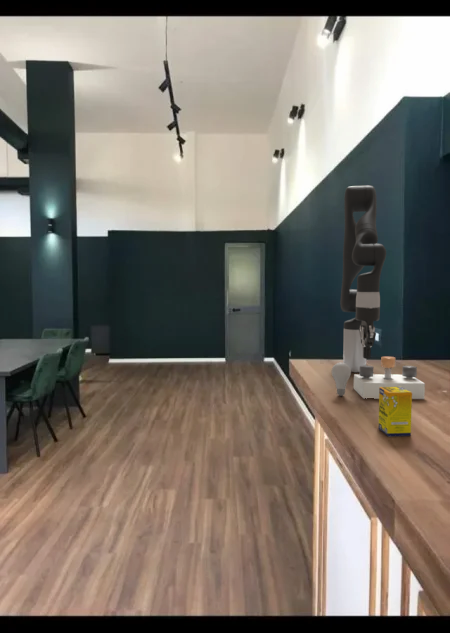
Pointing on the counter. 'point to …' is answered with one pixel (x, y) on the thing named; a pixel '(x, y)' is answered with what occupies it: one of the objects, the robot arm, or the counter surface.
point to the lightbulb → (341, 376)
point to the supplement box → (395, 411)
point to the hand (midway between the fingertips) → (366, 358)
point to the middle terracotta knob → (388, 366)
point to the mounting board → (387, 385)
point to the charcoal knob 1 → (366, 371)
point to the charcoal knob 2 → (409, 372)
